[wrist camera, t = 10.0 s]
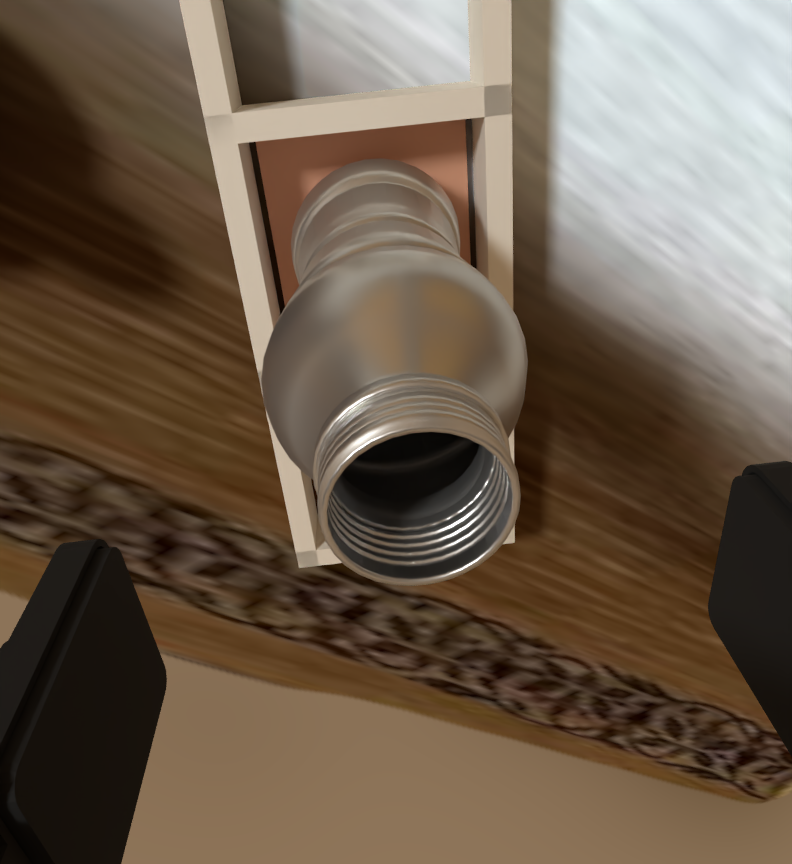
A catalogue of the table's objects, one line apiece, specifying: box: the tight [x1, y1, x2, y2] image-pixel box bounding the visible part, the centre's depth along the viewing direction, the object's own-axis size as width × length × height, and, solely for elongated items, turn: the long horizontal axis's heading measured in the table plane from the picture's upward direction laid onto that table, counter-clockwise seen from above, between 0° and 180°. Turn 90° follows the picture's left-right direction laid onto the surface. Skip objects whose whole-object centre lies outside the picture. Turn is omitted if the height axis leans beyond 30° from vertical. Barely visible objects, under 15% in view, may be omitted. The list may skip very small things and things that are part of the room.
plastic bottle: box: [261, 158, 528, 586], centre depth 21 cm, size 6×7×20 cm
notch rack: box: [179, 0, 515, 568], centre depth 29 cm, size 31×11×3 cm, turn 5°
